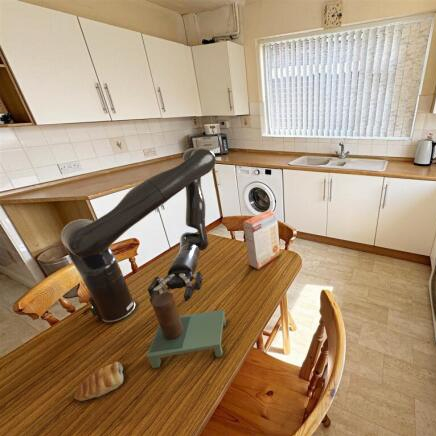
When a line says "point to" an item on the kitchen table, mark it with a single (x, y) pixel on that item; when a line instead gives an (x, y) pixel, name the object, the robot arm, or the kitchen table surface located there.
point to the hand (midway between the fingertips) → (169, 301)
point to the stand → (190, 337)
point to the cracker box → (262, 238)
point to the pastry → (100, 382)
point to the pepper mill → (168, 315)
